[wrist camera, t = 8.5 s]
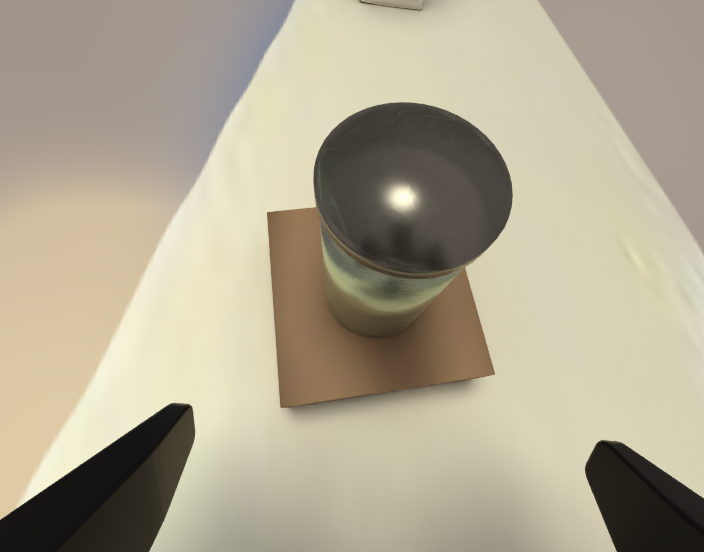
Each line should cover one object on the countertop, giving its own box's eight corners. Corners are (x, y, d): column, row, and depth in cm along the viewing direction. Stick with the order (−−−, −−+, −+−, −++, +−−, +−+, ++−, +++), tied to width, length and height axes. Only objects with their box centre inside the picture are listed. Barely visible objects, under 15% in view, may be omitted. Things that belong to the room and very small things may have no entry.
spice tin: (362, 362, 16) (394, 312, 8) (303, 275, 17) (275, 152, 9) (446, 302, 17) (553, 203, 9) (385, 226, 19) (428, 77, 10)
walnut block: (288, 407, 18) (280, 407, 15) (275, 237, 21) (267, 212, 19) (471, 379, 19) (495, 374, 16) (430, 221, 22) (444, 194, 20)
